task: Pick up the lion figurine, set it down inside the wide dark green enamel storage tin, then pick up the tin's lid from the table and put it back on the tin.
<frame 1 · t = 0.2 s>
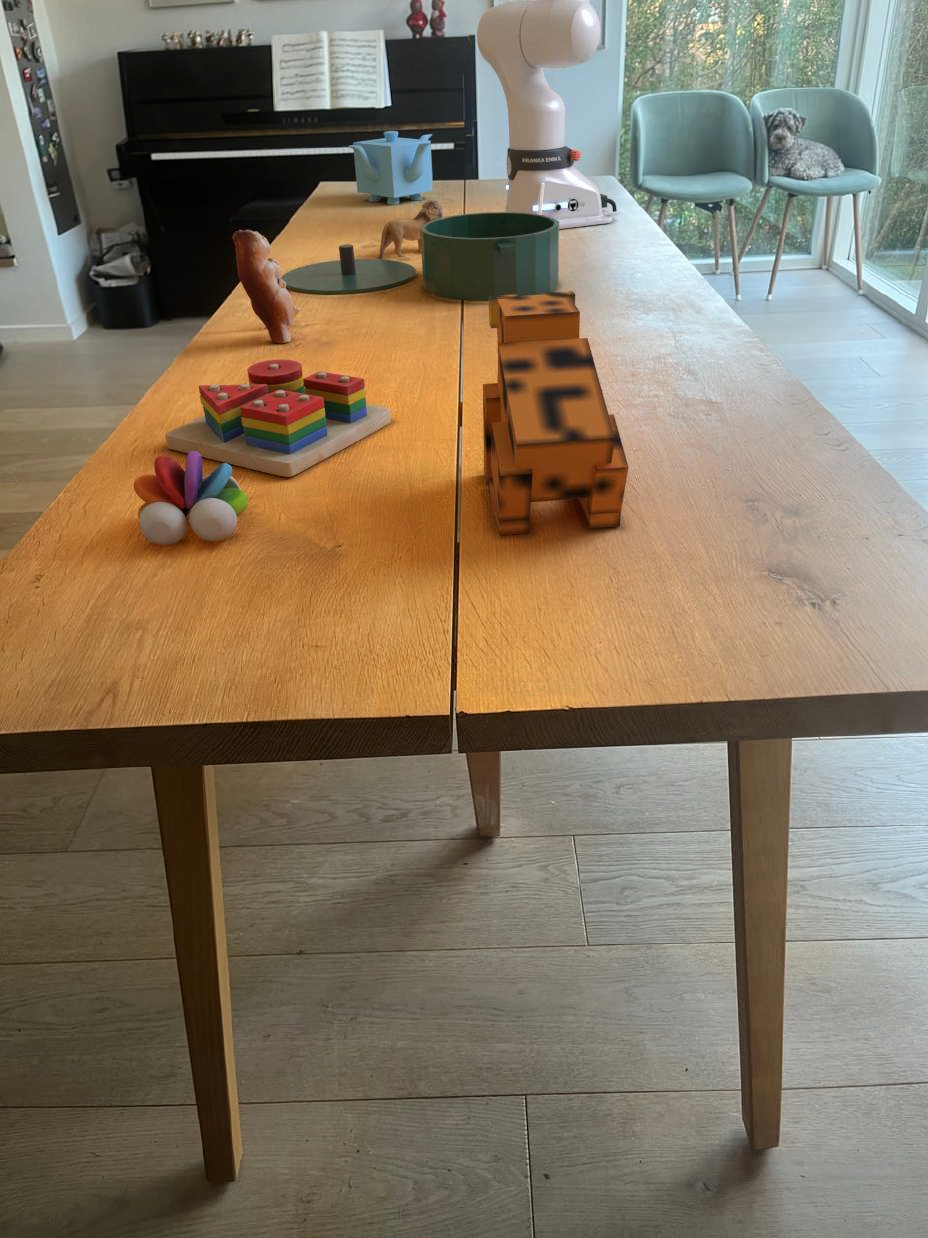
teakettle: (398, 200, 234), on the table
tin lid: (349, 277, 166), point 1 cm above the table
toy animal: (546, 495, 92), on the table
tin: (491, 286, 159), on the table
figurine: (275, 342, 138), on the table
lion figurine: (412, 256, 182), on the table
shape sorter: (281, 437, 107), on the table
rainbow fan rolling toy: (197, 530, 89), on the table
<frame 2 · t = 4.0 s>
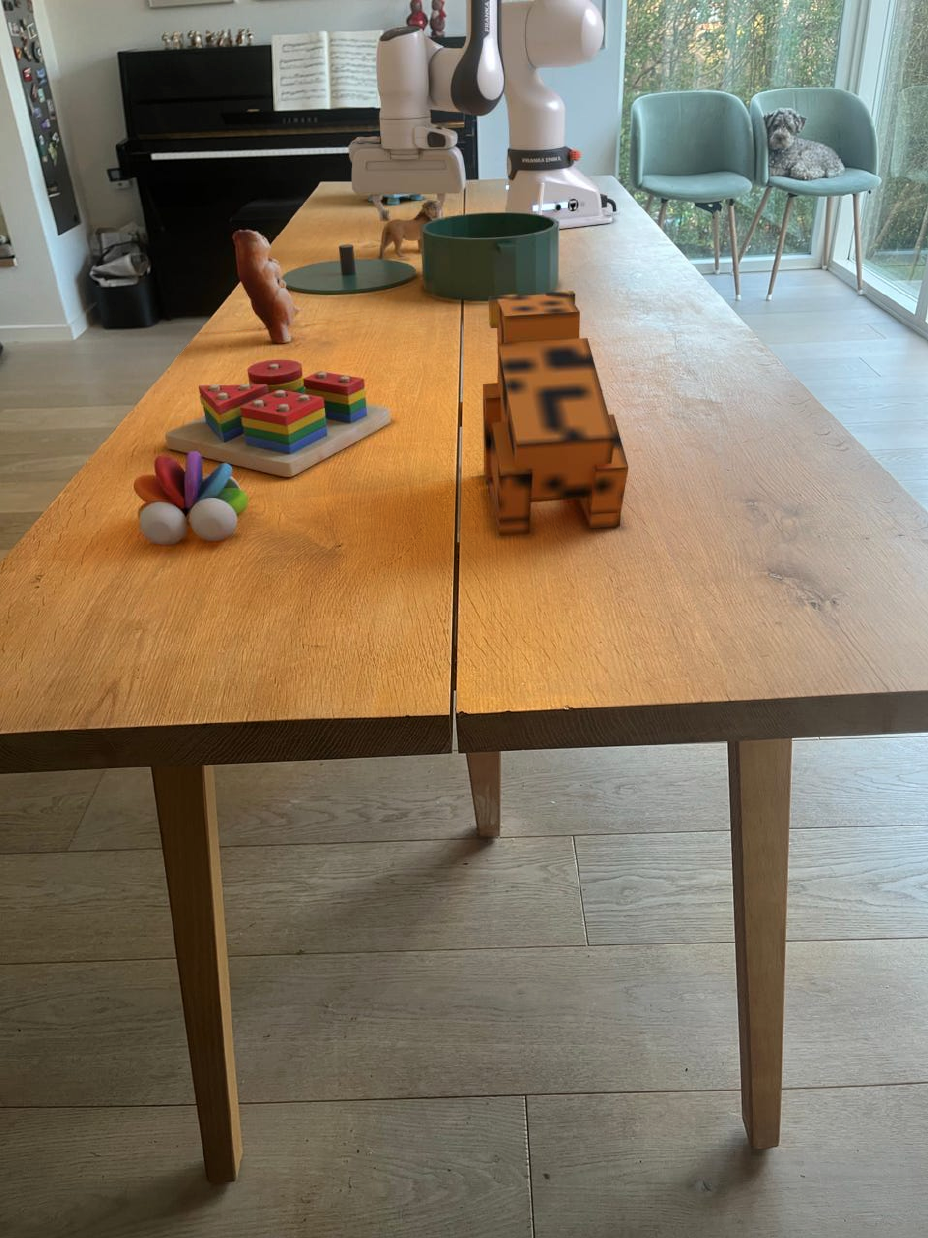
hand: (410, 220, 178), 6 cm above the table, tool pointing down, fingers open, 8 cm apart
nothing on the table moved.
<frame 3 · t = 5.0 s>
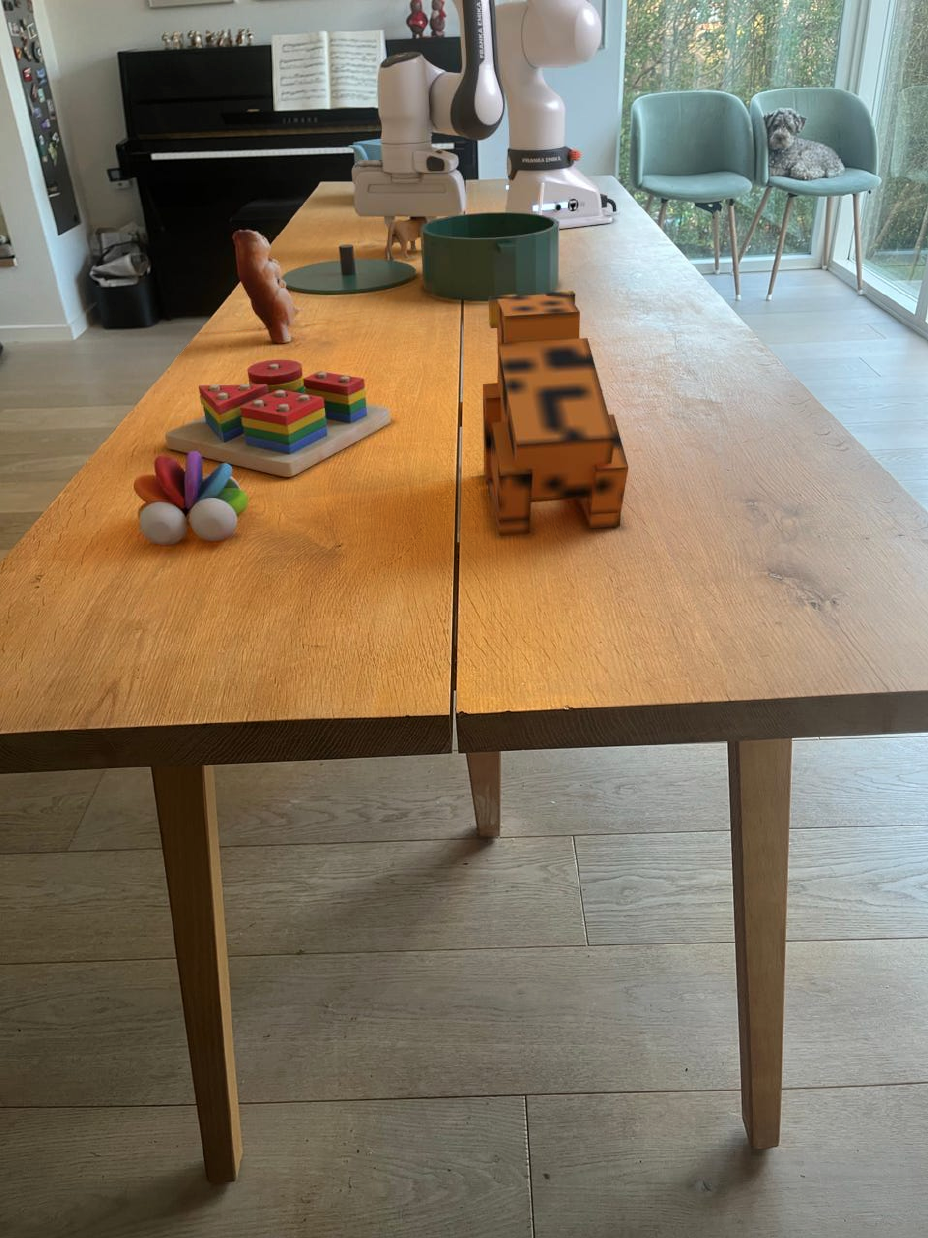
hand: (412, 242, 180), 2 cm above the table, tool pointing down, fingers closed on lion figurine, 4 cm apart
lion figurine: (409, 257, 182), on the table, touching gripper
everything else where it was.
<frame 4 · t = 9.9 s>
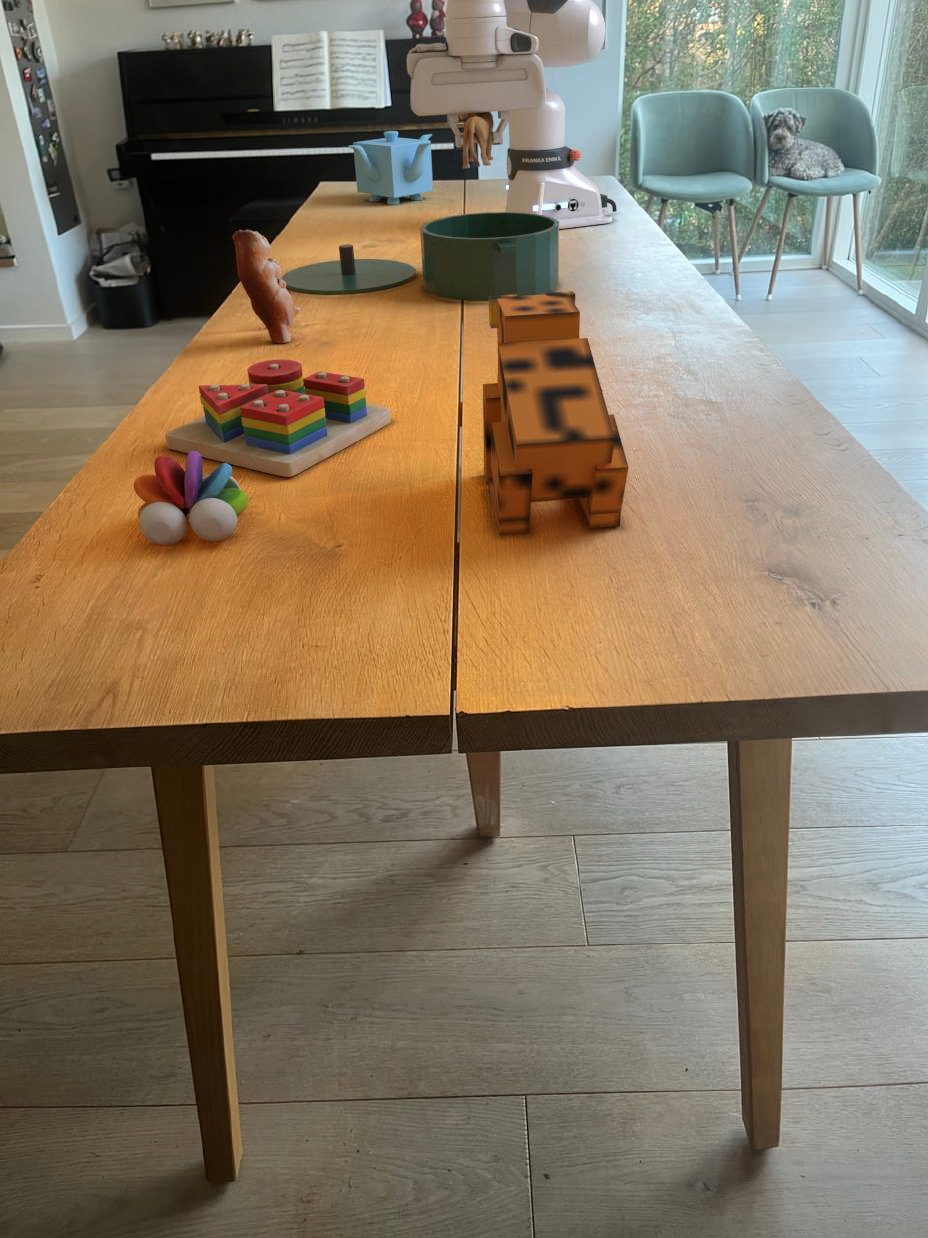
hand: (479, 145, 151), 21 cm above the table, tool pointing down, fingers closed on lion figurine, 4 cm apart
lion figurine: (475, 164, 152), point 18 cm above the table, touching gripper
everything else where it was.
when the fingers open (3 cm above the table, at t = 15.2 s): lion figurine stays where it is, resting on tin.
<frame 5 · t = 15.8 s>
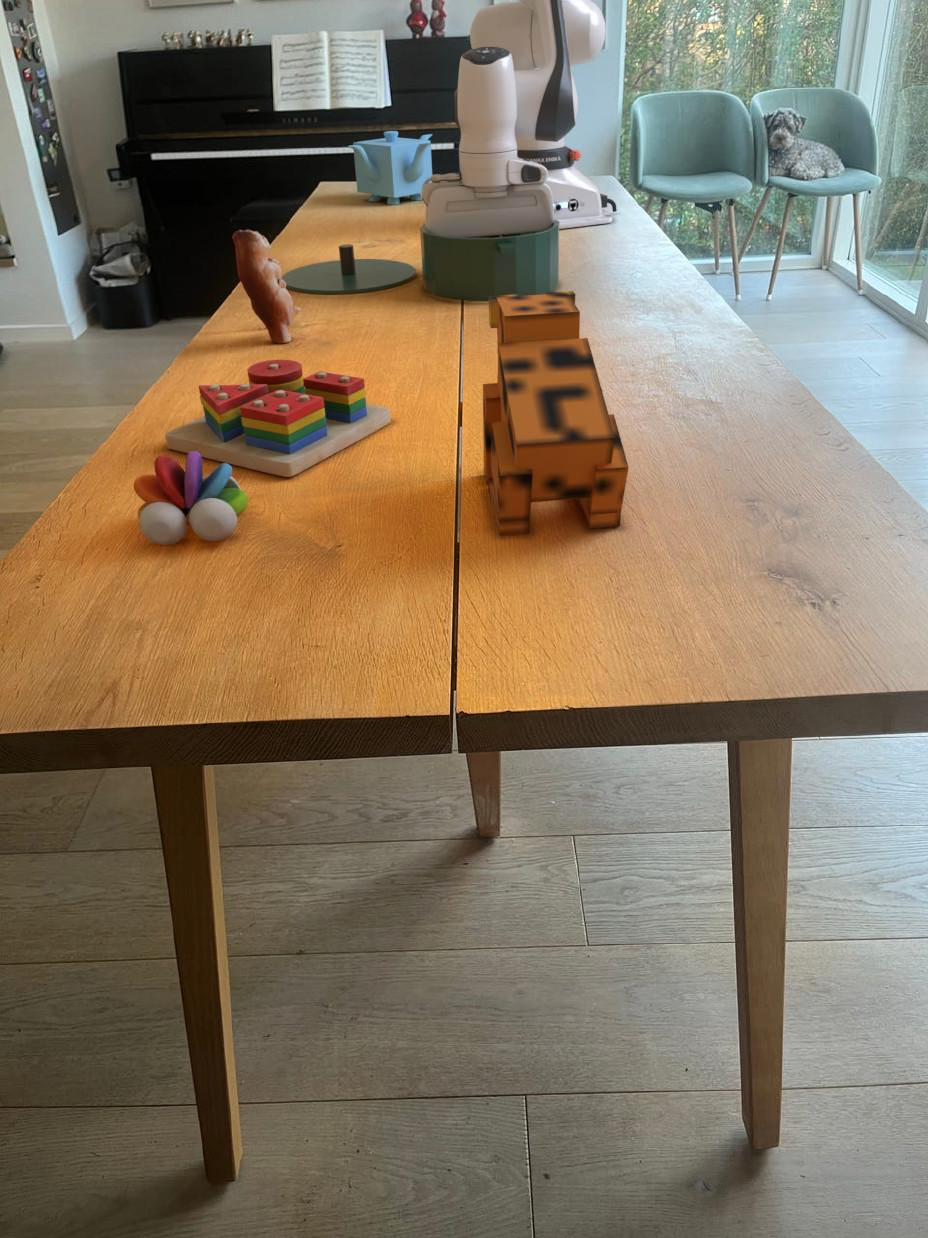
hand: (490, 264, 158), 3 cm above the table, tool pointing down, fingers open, 8 cm apart
lion figurine: (487, 285, 159), resting on tin
everything else where it was.
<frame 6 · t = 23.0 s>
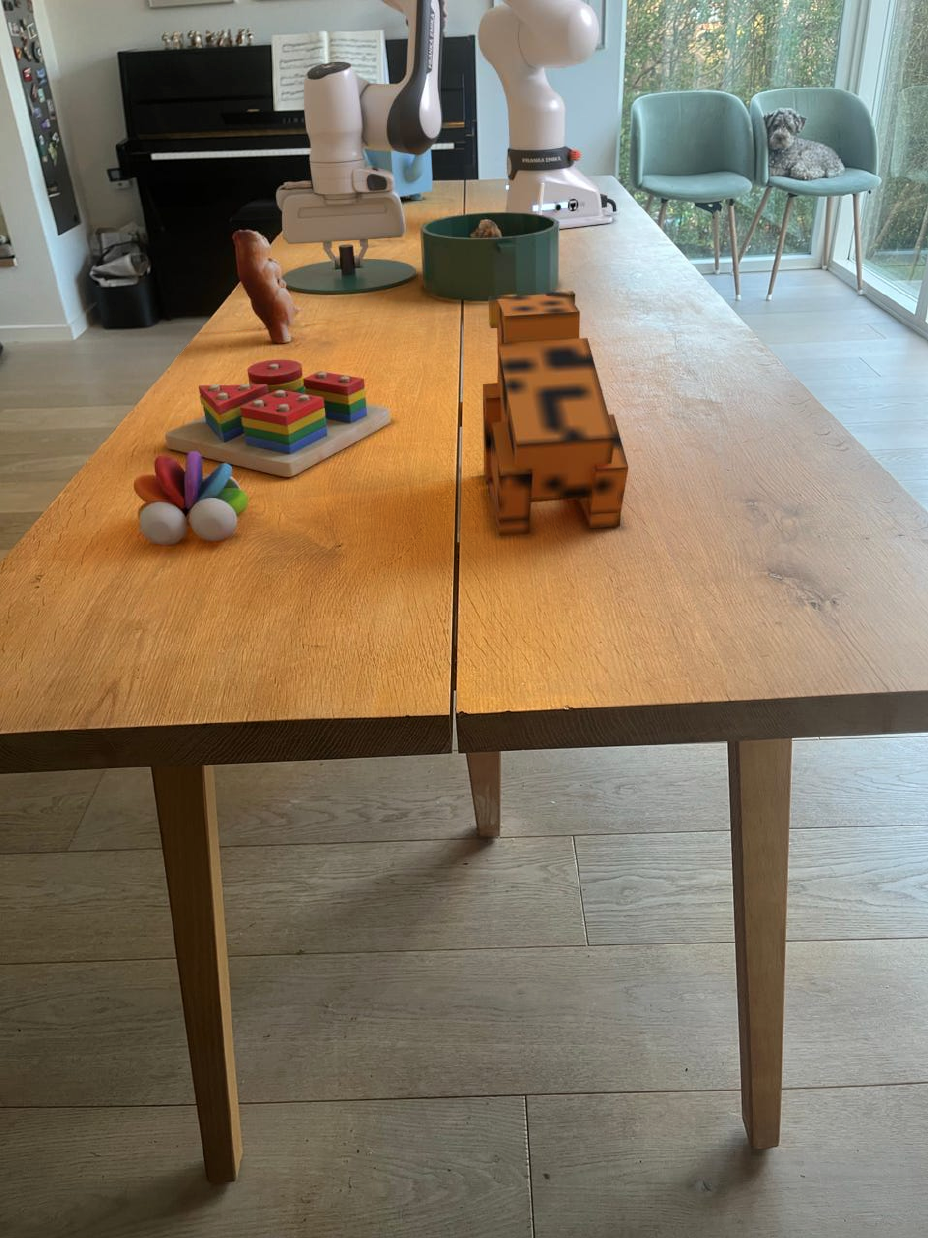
hand: (348, 268, 166), 2 cm above the table, tool pointing down, fingers closed on tin lid, 2 cm apart
tin lid: (349, 277, 166), point 1 cm above the table, touching gripper
everything else where it was.
when the fingers open (11 cm above the table, at t = 30.2 s): tin lid stays where it is, resting on lion figurine, tin.
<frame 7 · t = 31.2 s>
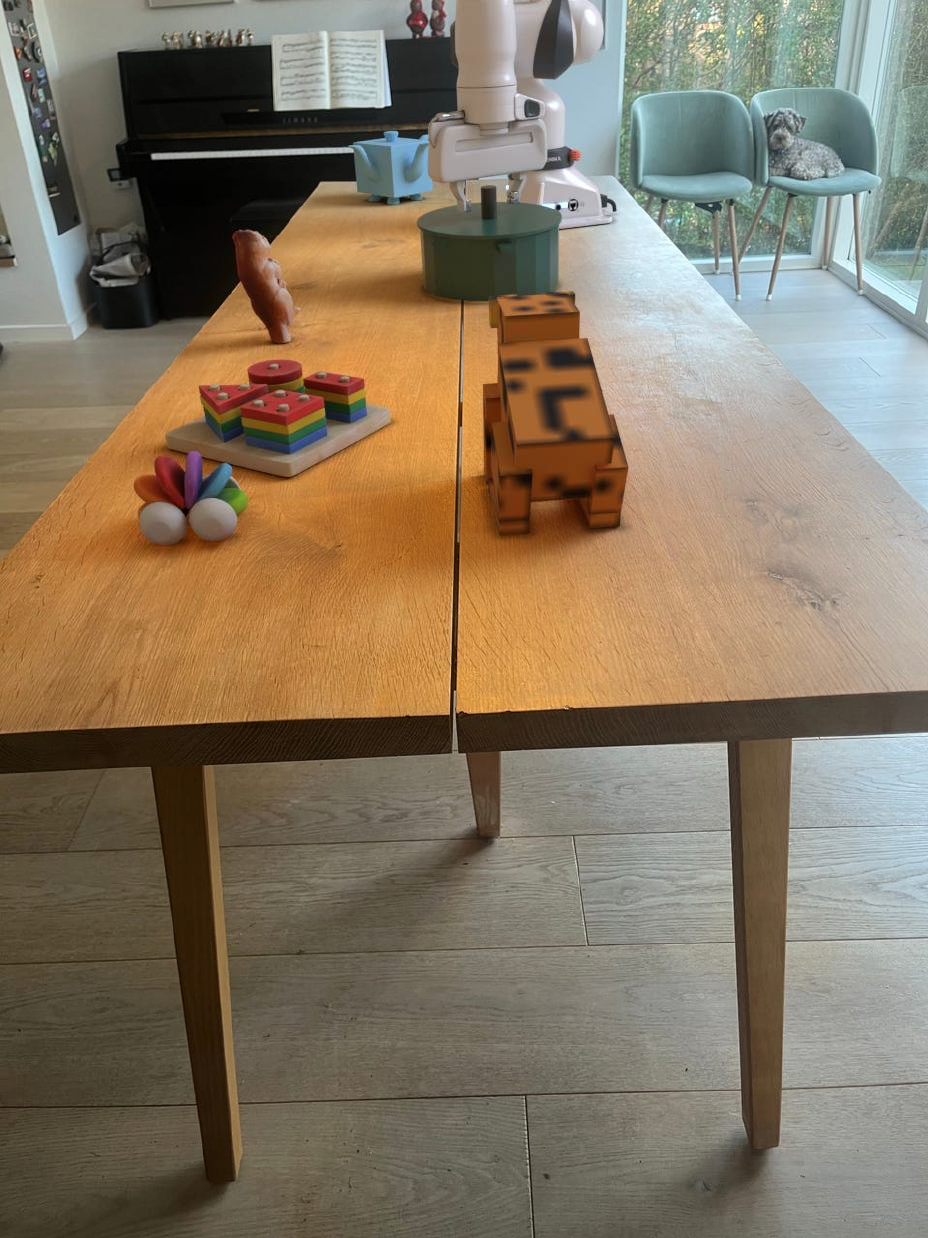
hand: (489, 207, 153), 12 cm above the table, tool pointing down, fingers open, 8 cm apart
tin lid: (489, 221, 154), point 10 cm above the table, touching lion figurine, tin
lion figurine: (487, 285, 159), resting on tin, touching tin lid
everything else where it was.
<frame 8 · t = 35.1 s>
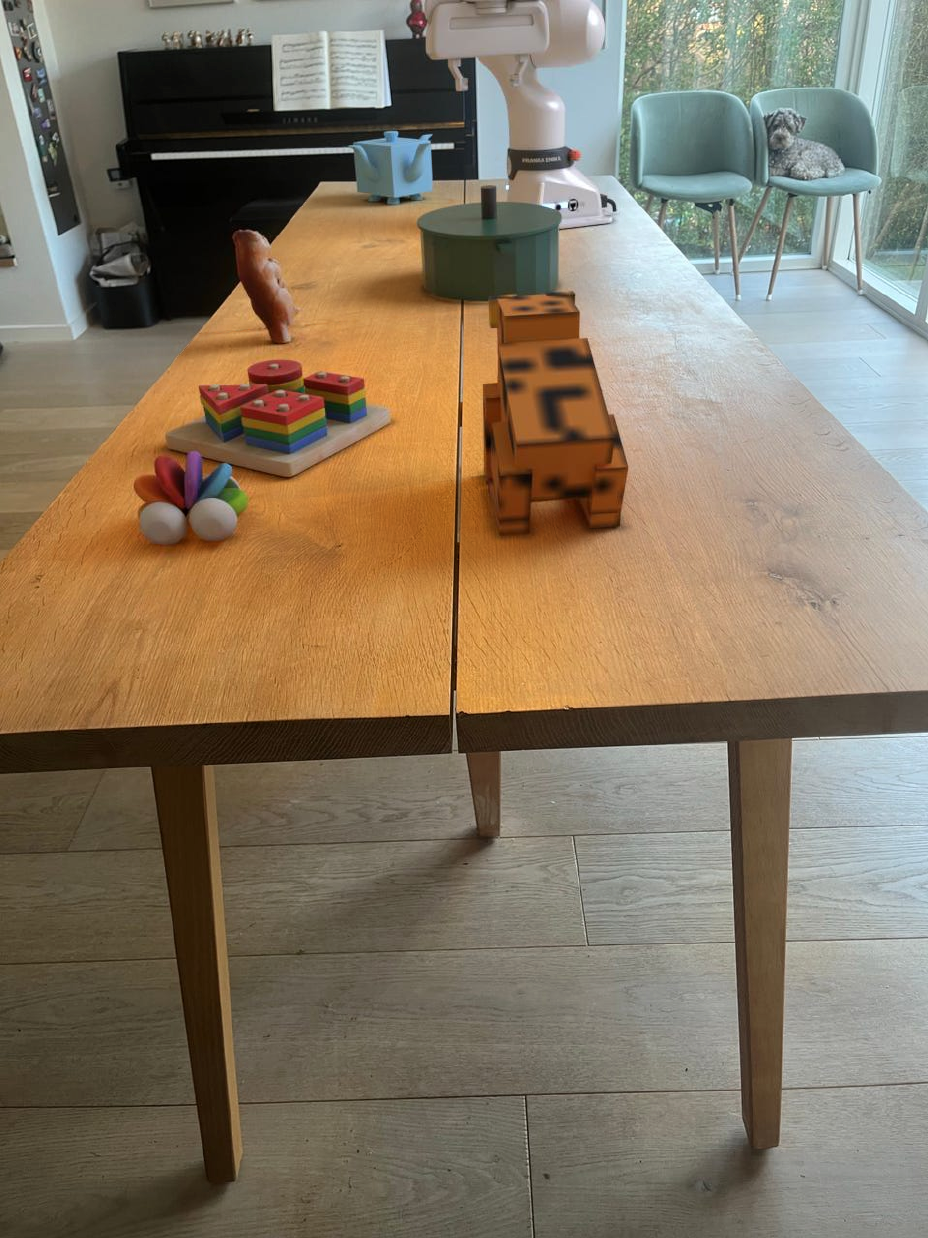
hand: (488, 88, 161), 27 cm above the table, tool pointing down, fingers open, 8 cm apart
nothing on the table moved.
at the end: lion figurine inside the target area in the tin (0.7 cm from its centre), point 0.3 cm above the tin's base; tin lid 0.1 cm off-centre on the tin, point 10.0 cm above the tin's base; tin lid tilted 2° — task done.
